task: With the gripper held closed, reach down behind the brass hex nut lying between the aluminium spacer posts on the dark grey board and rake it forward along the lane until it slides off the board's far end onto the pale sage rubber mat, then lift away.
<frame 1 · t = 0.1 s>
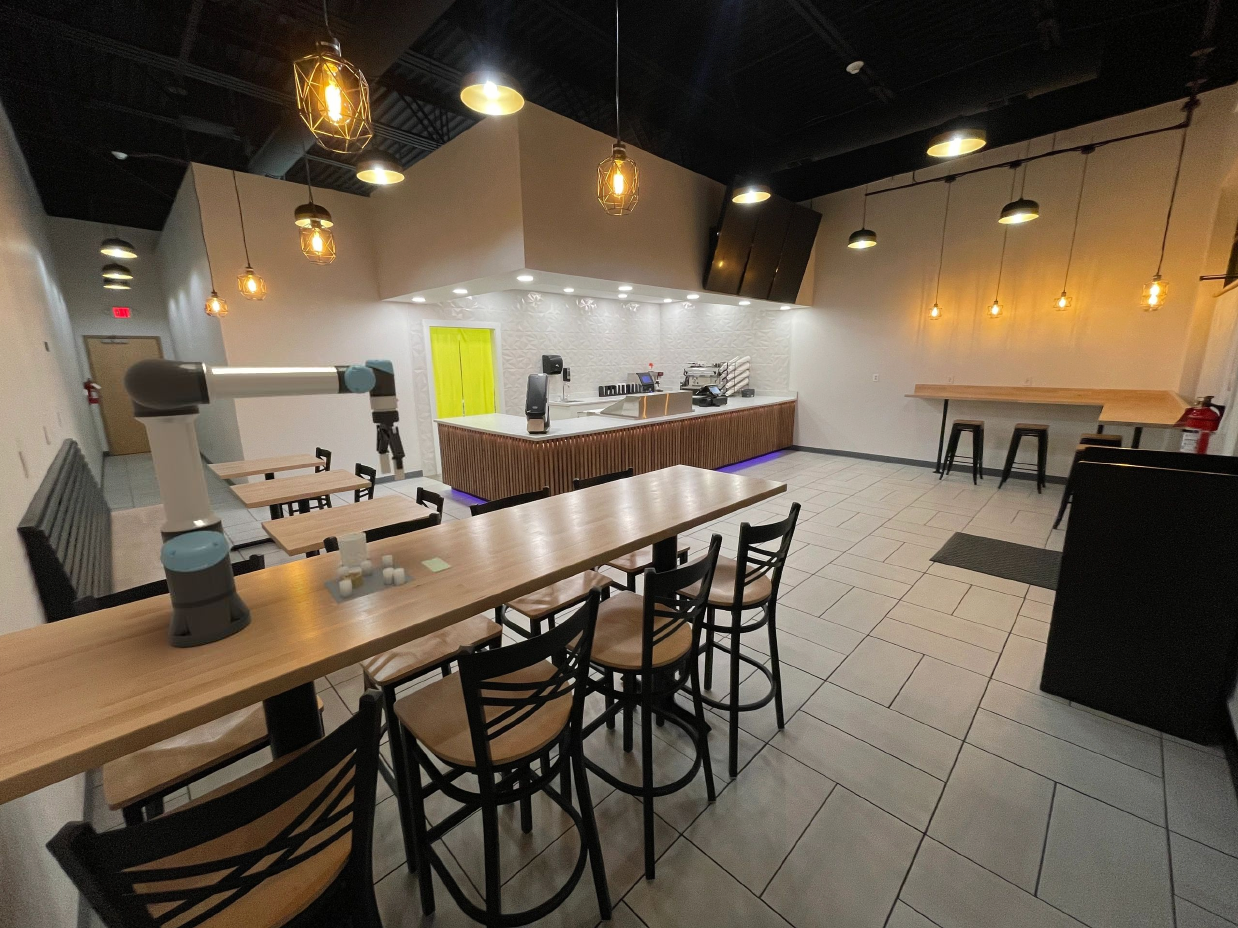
hand: (393, 476, 151), 28 cm above the table, fingers open, 13 cm apart
nut: (353, 585, 134), point 1 cm above the table, touching spacer board
spacer board: (369, 584, 137), on the table
white cup: (355, 566, 151), on the table
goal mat: (425, 568, 147), on the table
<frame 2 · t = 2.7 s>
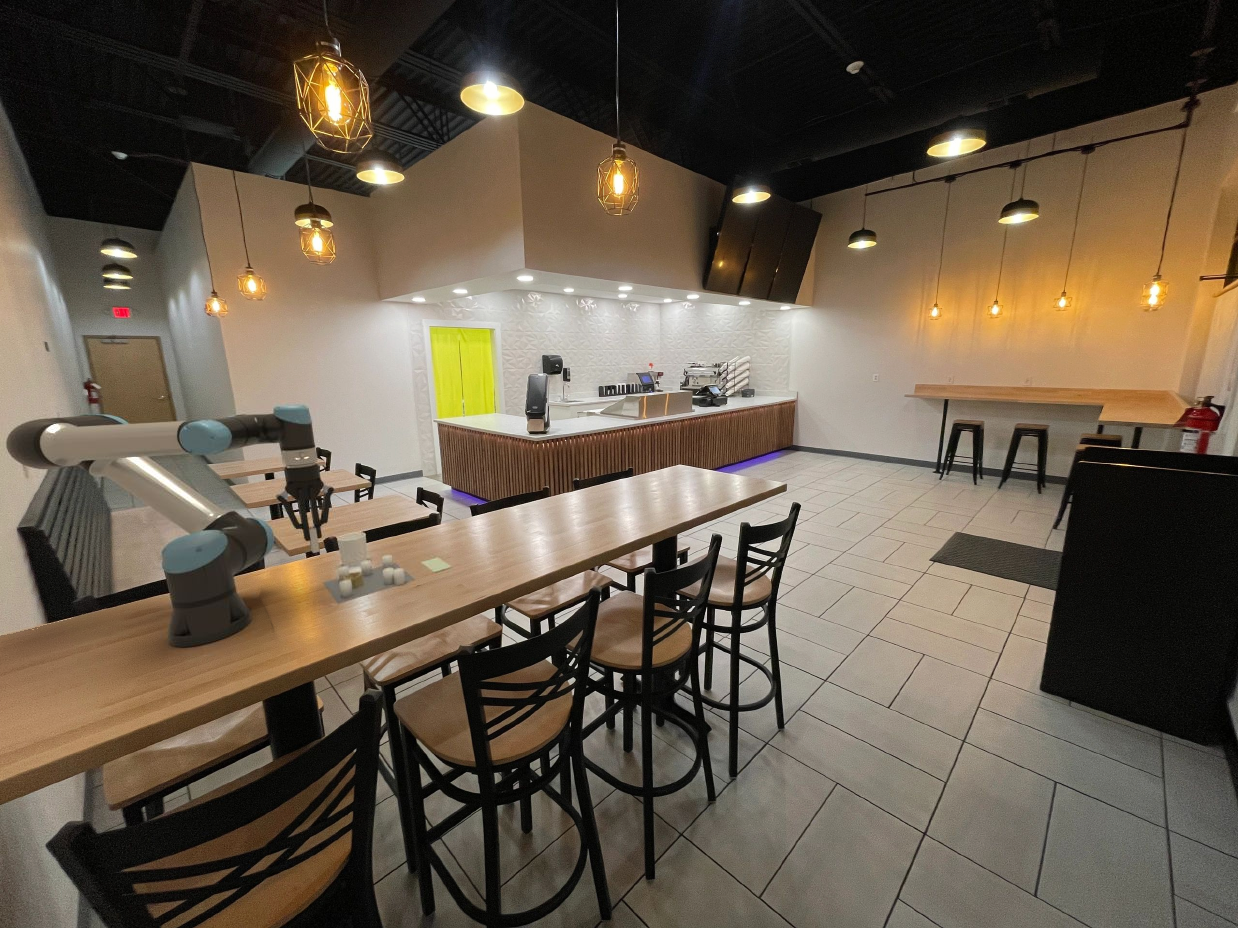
hand: (315, 550, 126), 14 cm above the table, fingers closed
nothing on the table moved.
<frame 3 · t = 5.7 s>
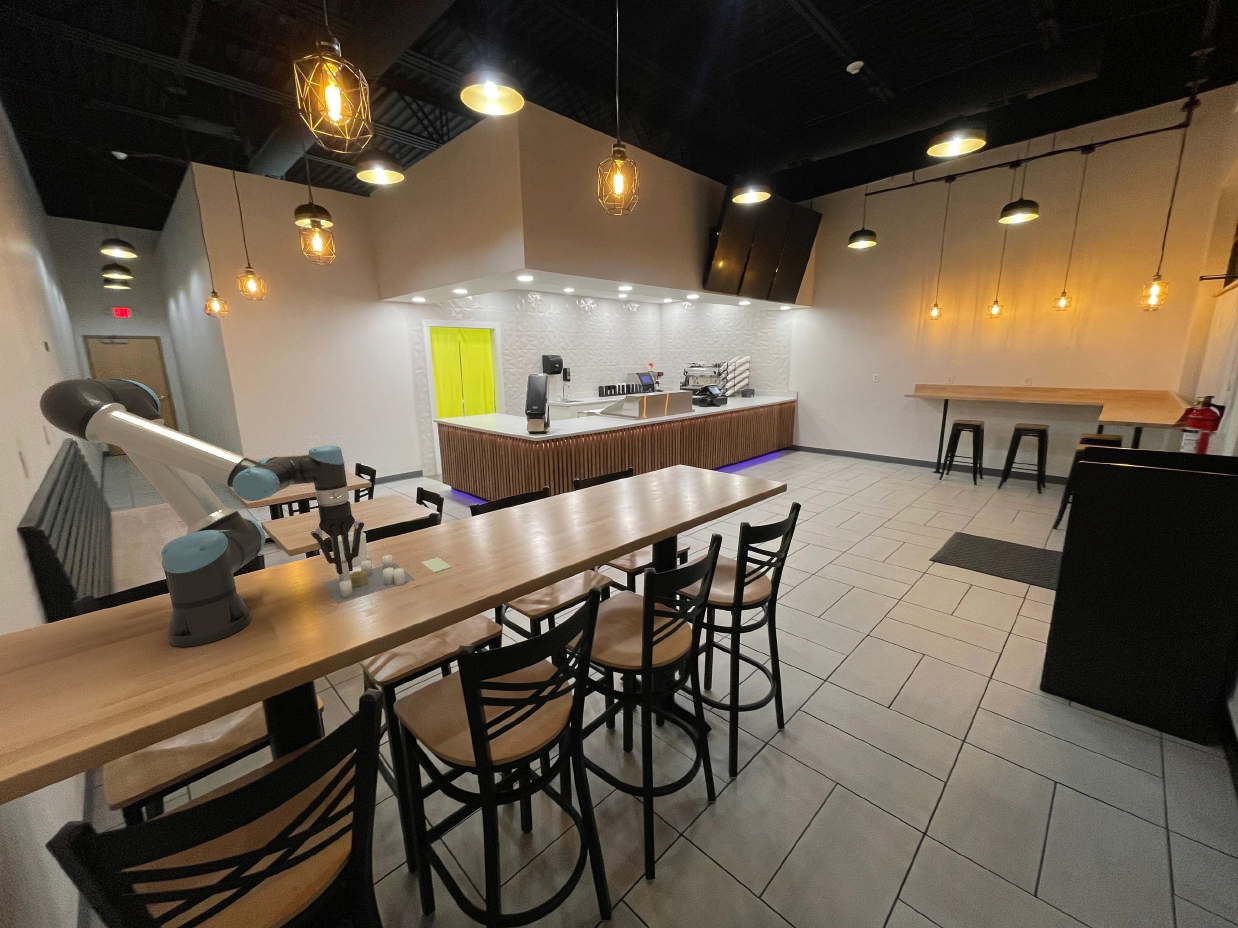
hand: (346, 583, 132), 3 cm above the table, fingers closed
nut: (358, 583, 134), point 1 cm above the table, touching gripper
everything else where it was.
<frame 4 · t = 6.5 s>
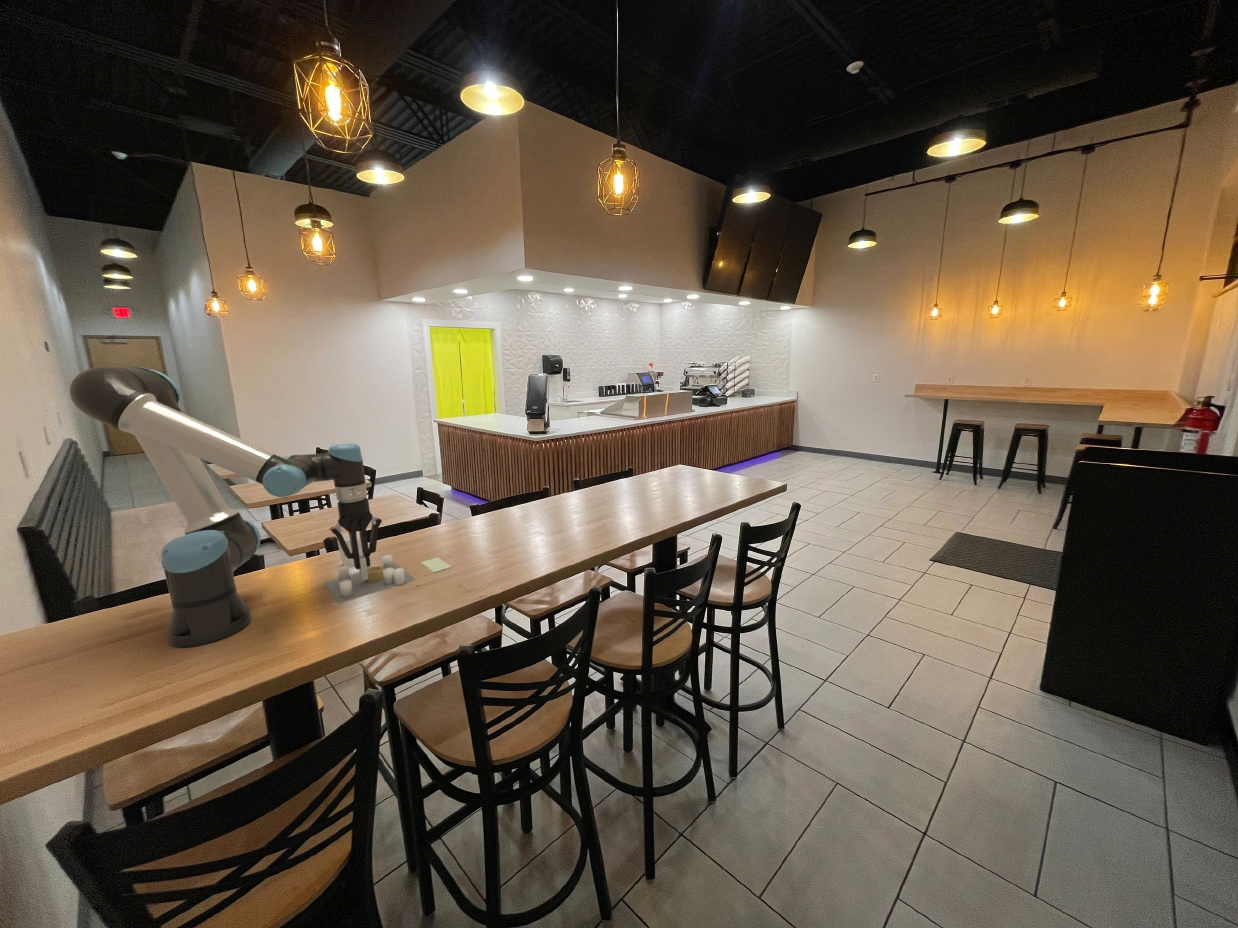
hand: (364, 578, 135), 3 cm above the table, fingers closed
nut: (375, 578, 138), point 1 cm above the table, touching gripper
everything else where it was.
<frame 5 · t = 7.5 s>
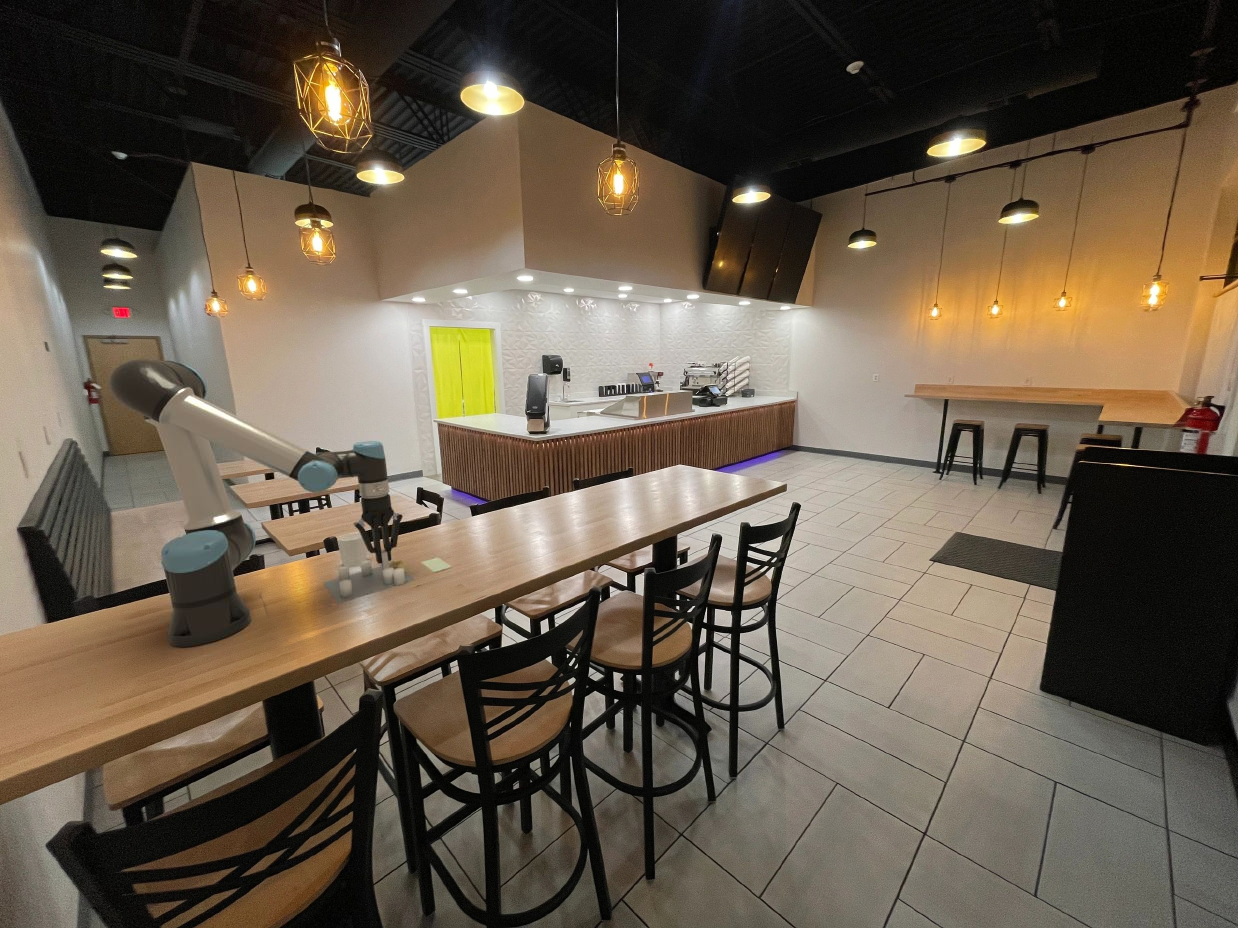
hand: (385, 572, 139), 3 cm above the table, fingers closed
nut: (396, 572, 141), point 1 cm above the table, touching gripper, spacer board
everything else where it was.
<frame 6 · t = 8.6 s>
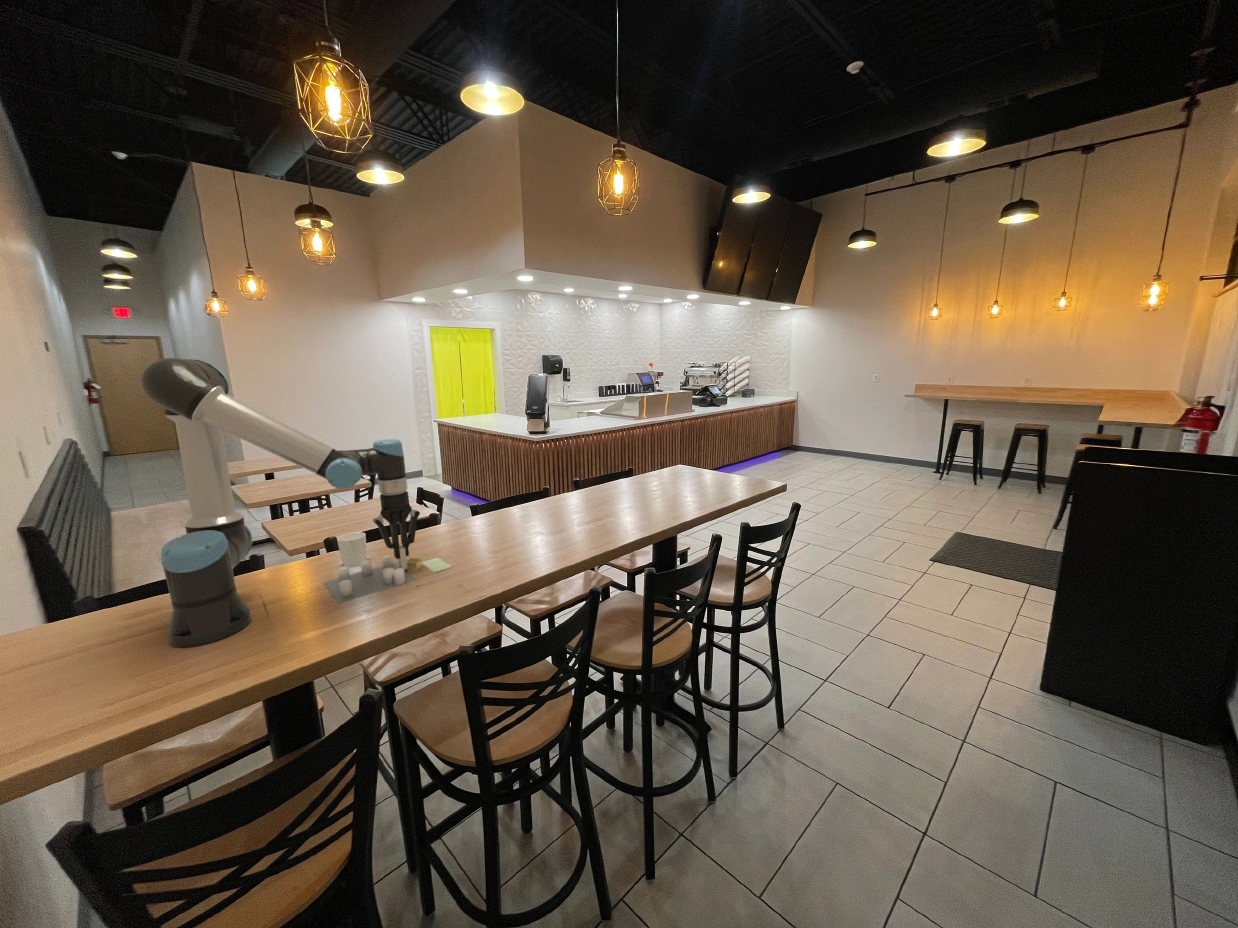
hand: (403, 567, 142), 2 cm above the table, fingers closed
nut: (413, 569, 145), point 1 cm above the table, tilted 8°
everything else where it was.
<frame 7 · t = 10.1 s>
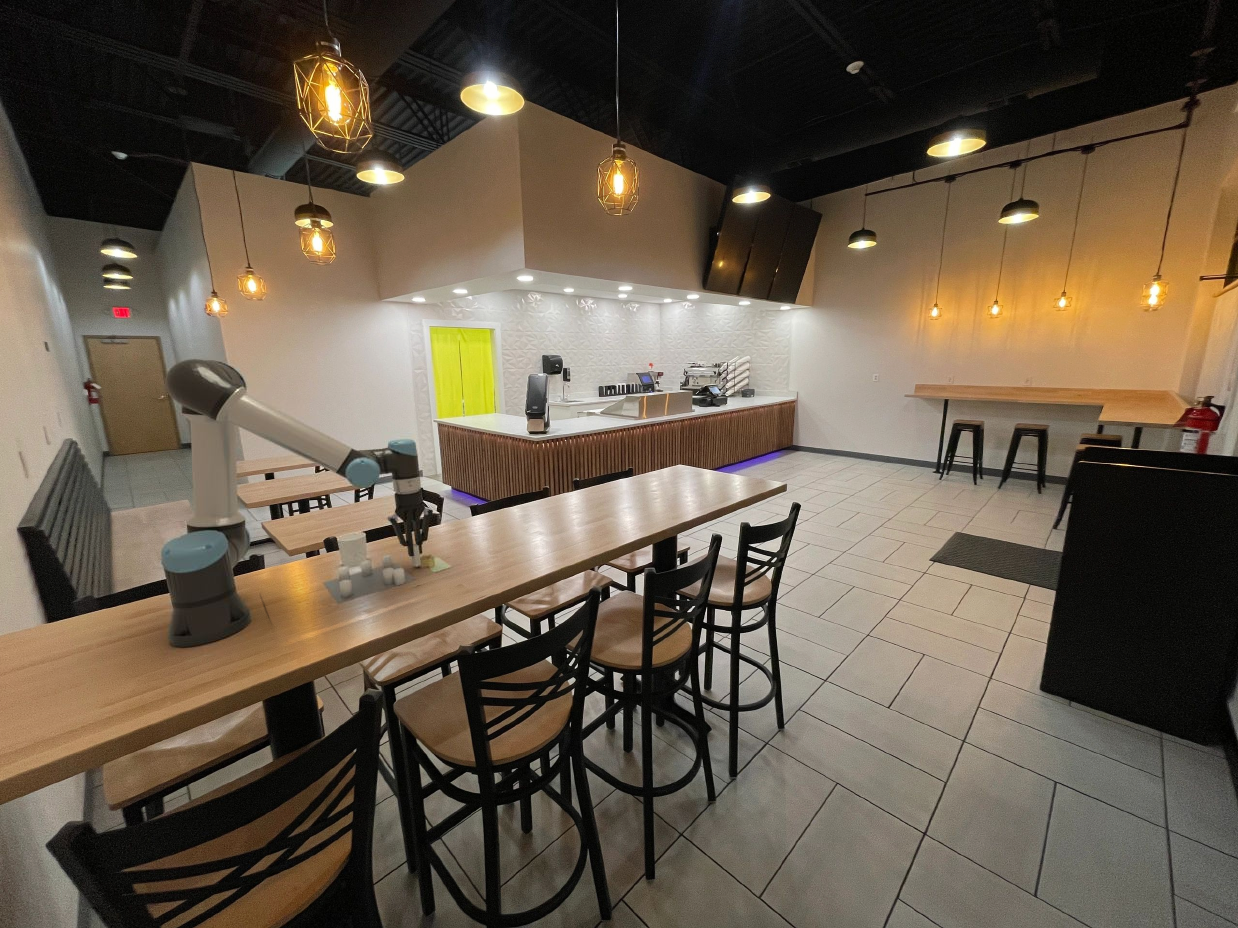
hand: (416, 564, 145), 2 cm above the table, fingers closed
nut: (426, 566, 148), resting on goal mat, touching gripper
everything else where it was.
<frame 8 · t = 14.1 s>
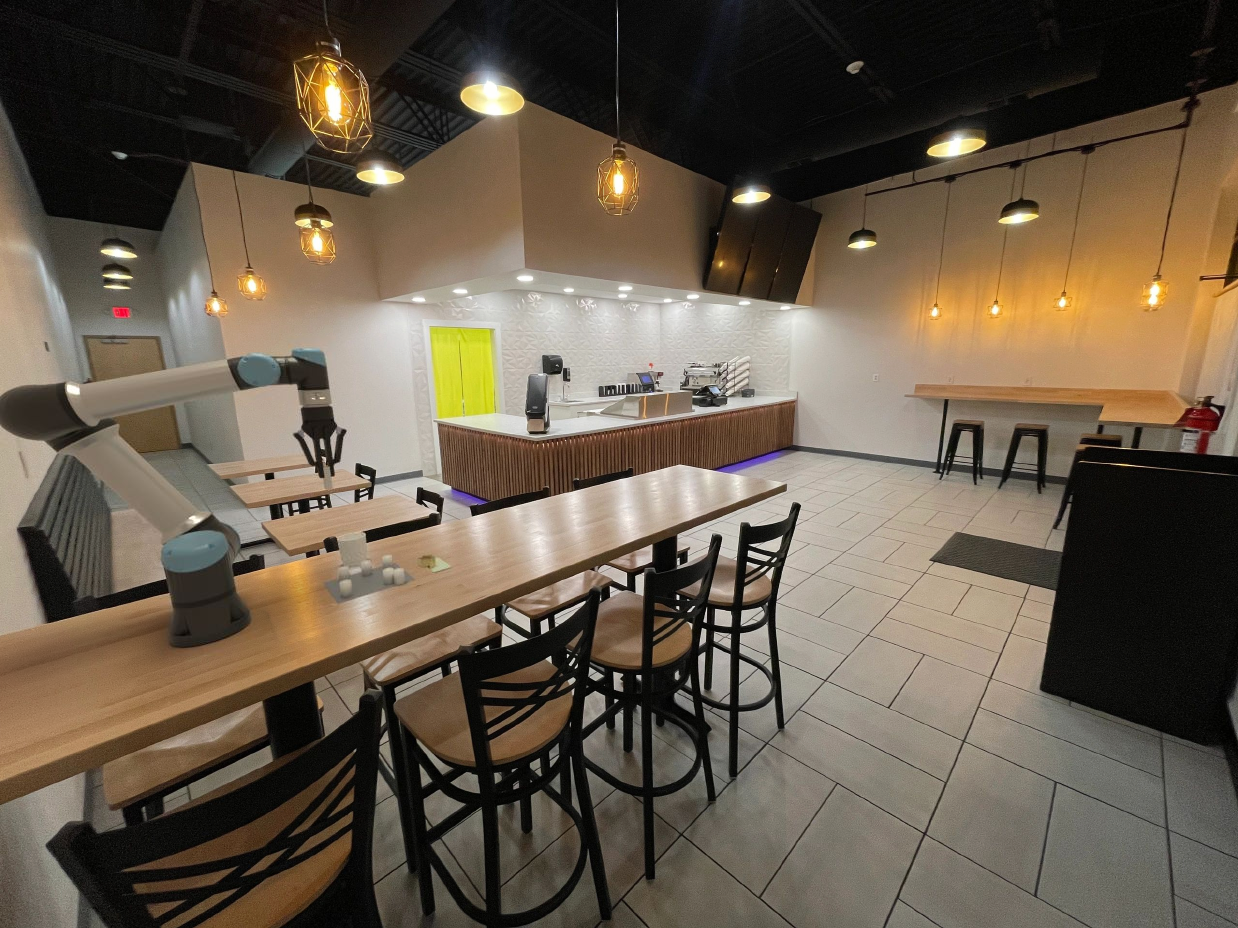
hand: (328, 488, 134), 28 cm above the table, fingers closed
nut: (427, 566, 148), resting on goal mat
everything else where it was.
at the end: nut inside the target area (0.6 cm from its centre), resting on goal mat; nut moved 20.9 cm from its start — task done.
